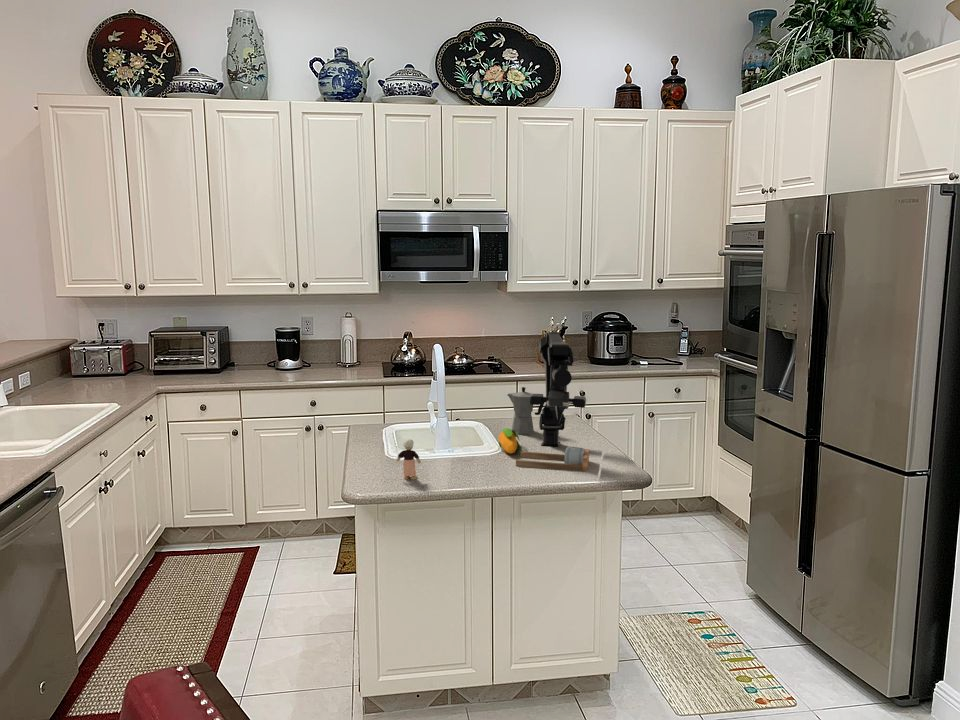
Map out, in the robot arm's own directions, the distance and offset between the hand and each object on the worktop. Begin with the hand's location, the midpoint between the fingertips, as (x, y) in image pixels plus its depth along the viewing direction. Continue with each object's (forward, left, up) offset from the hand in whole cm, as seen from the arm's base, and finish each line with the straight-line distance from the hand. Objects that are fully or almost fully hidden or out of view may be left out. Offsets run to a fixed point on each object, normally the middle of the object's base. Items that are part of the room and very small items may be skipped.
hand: (557, 424), depth 246 cm
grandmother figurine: (+33, -43, -12) cm, 55 cm away
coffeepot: (-32, -16, -12) cm, 38 cm away
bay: (+9, -1, -12) cm, 15 cm away
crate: (+9, +7, -11) cm, 16 cm away
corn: (-4, -17, -12) cm, 21 cm away
